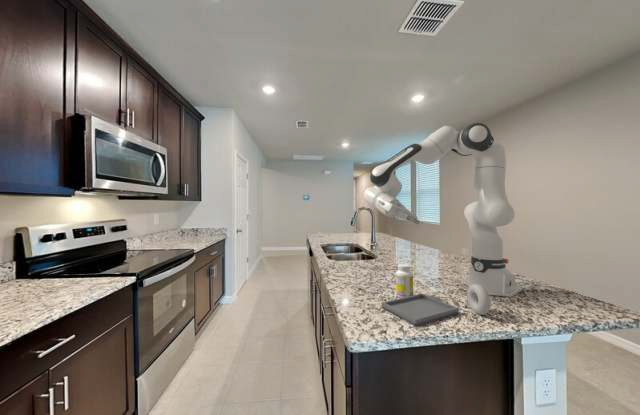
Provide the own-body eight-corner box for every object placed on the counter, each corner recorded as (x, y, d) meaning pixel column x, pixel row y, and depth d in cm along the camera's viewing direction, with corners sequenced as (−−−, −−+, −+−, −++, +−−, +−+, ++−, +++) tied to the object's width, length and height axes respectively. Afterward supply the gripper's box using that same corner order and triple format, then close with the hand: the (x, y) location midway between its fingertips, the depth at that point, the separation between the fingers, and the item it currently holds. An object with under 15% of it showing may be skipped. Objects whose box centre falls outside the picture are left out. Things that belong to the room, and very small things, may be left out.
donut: (493, 320, 81) (493, 289, 81) (482, 320, 81) (482, 289, 81) (474, 307, 91) (474, 280, 91) (465, 307, 91) (464, 280, 91)
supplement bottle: (410, 293, 106) (409, 263, 106) (415, 299, 100) (415, 267, 100) (394, 293, 106) (393, 263, 106) (398, 299, 100) (398, 267, 100)
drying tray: (421, 298, 100) (421, 293, 100) (458, 313, 86) (458, 307, 86) (381, 307, 92) (381, 302, 92) (415, 326, 77) (415, 319, 77)
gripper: (380, 193, 108) (404, 206, 97) (405, 206, 120) (429, 219, 110) (372, 206, 109) (395, 220, 98) (398, 218, 121) (421, 232, 111)
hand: (413, 220), depth 104 cm, fingers open, 8 cm apart
